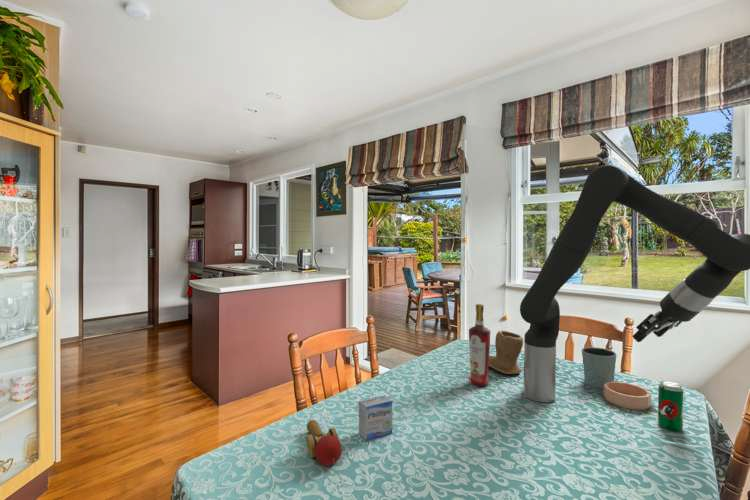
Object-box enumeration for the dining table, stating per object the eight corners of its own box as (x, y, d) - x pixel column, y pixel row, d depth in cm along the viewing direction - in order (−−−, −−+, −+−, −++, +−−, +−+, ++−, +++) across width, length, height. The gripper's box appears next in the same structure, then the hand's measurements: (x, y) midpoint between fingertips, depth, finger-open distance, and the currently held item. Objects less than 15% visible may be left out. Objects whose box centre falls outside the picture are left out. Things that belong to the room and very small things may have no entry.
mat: (606, 406, 105) (606, 405, 105) (597, 392, 116) (597, 391, 116) (659, 414, 101) (659, 412, 101) (645, 398, 111) (645, 397, 111)
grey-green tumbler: (621, 387, 120) (621, 352, 120) (608, 394, 114) (608, 358, 114) (589, 377, 128) (589, 345, 128) (575, 383, 123) (576, 350, 122)
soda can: (687, 434, 90) (688, 388, 90) (665, 432, 91) (665, 387, 91) (674, 424, 95) (675, 381, 95) (653, 422, 96) (654, 379, 96)
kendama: (294, 440, 90) (312, 472, 74) (298, 414, 91) (316, 439, 75) (323, 439, 93) (346, 469, 77) (326, 414, 94) (350, 438, 78)
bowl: (609, 406, 105) (610, 393, 105) (600, 390, 116) (600, 379, 116) (656, 412, 101) (657, 399, 101) (642, 396, 112) (642, 384, 112)
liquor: (464, 384, 122) (465, 304, 122) (474, 378, 128) (474, 302, 128) (485, 389, 118) (485, 307, 117) (493, 383, 123) (493, 304, 123)
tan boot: (530, 374, 131) (530, 335, 131) (503, 378, 128) (503, 337, 128) (504, 361, 146) (504, 326, 146) (479, 364, 142) (479, 328, 142)
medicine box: (365, 441, 87) (365, 407, 87) (358, 433, 91) (358, 400, 91) (393, 433, 91) (392, 400, 90) (384, 425, 95) (384, 394, 94)
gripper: (690, 285, 95) (651, 322, 105) (655, 292, 90) (618, 330, 101) (717, 306, 90) (673, 343, 100) (682, 315, 85) (639, 352, 96)
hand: (646, 336), depth 100 cm, fingers open, 8 cm apart
